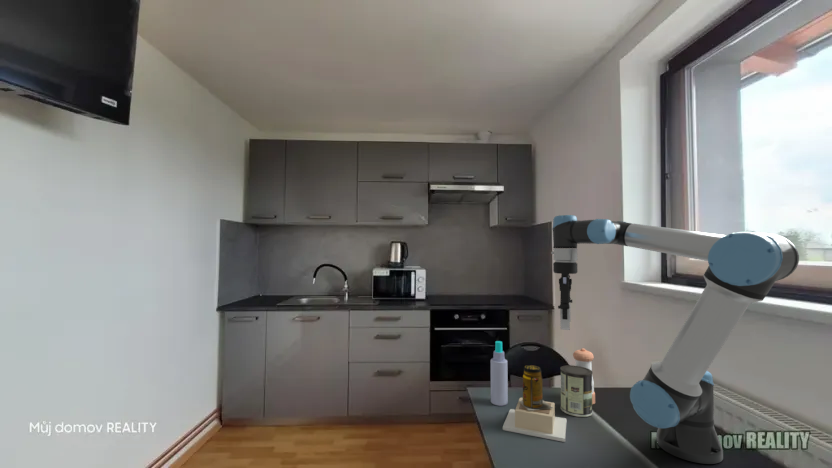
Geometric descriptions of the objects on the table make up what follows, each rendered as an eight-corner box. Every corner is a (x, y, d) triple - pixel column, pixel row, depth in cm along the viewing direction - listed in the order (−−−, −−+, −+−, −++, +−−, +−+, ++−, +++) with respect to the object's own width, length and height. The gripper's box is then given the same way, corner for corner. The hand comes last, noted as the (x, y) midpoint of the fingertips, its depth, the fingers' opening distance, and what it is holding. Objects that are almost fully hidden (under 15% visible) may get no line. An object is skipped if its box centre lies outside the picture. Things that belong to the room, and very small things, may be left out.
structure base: (566, 421, 122) (566, 402, 122) (565, 442, 109) (564, 420, 110) (510, 411, 129) (510, 393, 130) (502, 429, 117) (502, 409, 117)
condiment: (518, 401, 123) (517, 364, 123) (542, 399, 124) (541, 363, 125) (528, 411, 116) (528, 371, 116) (553, 409, 117) (553, 370, 118)
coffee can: (584, 404, 135) (584, 365, 136) (597, 417, 125) (597, 374, 126) (555, 404, 136) (556, 364, 136) (566, 416, 125) (566, 374, 126)
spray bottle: (506, 399, 140) (505, 340, 140) (508, 406, 134) (508, 344, 134) (489, 399, 140) (489, 339, 141) (491, 405, 134) (491, 343, 135)
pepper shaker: (572, 402, 137) (571, 349, 138) (574, 395, 144) (573, 345, 144) (594, 406, 134) (593, 352, 135) (595, 399, 140) (594, 347, 141)
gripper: (555, 260, 139) (555, 318, 138) (550, 262, 116) (551, 332, 115) (577, 260, 136) (578, 319, 135) (577, 263, 113) (577, 334, 112)
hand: (565, 325), depth 125 cm, fingers open, 13 cm apart
